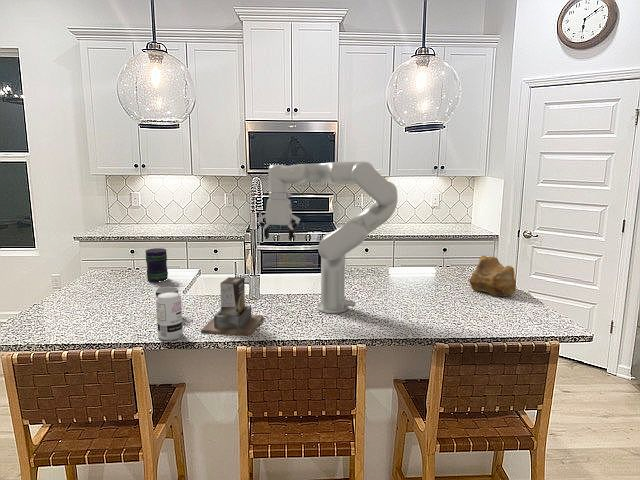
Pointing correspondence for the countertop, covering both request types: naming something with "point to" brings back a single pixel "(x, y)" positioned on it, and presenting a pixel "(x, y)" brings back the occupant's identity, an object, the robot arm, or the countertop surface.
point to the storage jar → (156, 264)
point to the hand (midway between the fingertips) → (278, 238)
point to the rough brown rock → (493, 277)
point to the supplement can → (169, 316)
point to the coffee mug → (166, 290)
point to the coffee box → (232, 296)
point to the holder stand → (233, 323)
